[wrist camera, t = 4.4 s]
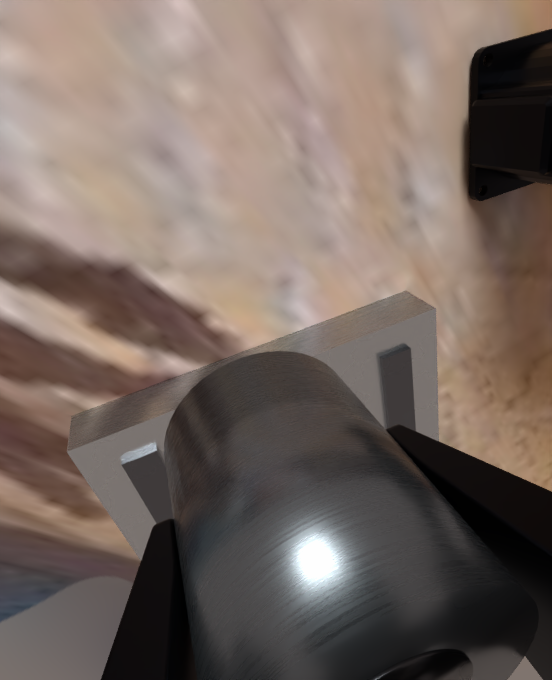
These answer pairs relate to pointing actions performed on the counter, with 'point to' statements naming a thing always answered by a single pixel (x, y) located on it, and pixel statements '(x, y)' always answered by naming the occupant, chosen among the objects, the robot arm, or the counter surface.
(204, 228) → the counter surface
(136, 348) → the counter surface
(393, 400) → the jig
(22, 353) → the counter surface
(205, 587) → the bushing
